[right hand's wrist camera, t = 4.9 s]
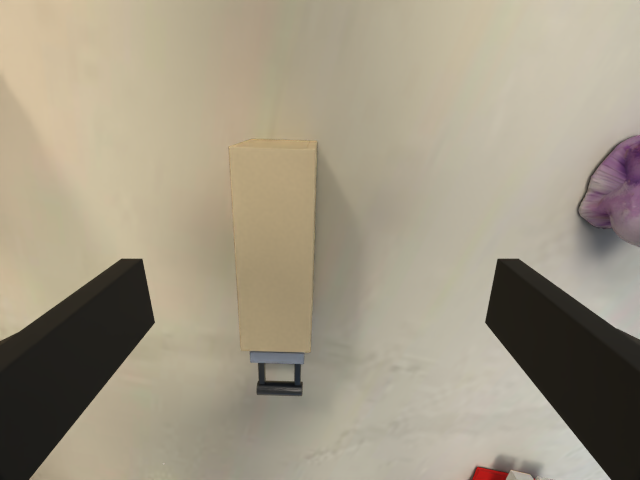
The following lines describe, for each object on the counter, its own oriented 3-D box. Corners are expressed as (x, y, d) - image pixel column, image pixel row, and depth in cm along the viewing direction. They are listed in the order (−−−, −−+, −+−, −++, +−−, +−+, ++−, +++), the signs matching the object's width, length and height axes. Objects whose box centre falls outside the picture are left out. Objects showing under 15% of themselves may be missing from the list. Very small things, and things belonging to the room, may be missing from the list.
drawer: (305, 364, 39) (302, 410, 33) (263, 363, 39) (252, 409, 33) (309, 175, 32) (307, 189, 25) (257, 173, 31) (241, 187, 25)
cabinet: (312, 303, 37) (310, 353, 30) (257, 302, 37) (240, 350, 30) (317, 140, 31) (315, 149, 24) (251, 138, 31) (228, 146, 24)
